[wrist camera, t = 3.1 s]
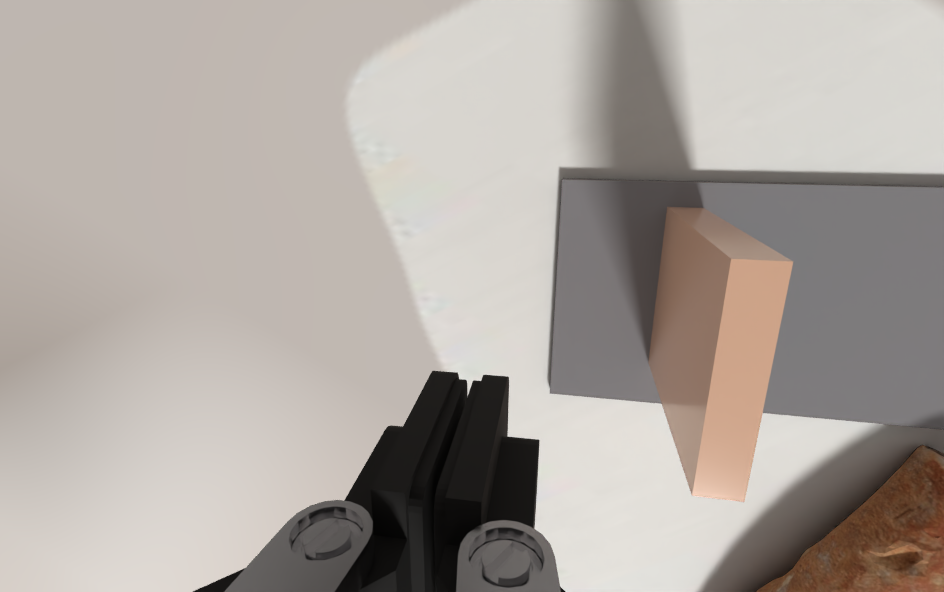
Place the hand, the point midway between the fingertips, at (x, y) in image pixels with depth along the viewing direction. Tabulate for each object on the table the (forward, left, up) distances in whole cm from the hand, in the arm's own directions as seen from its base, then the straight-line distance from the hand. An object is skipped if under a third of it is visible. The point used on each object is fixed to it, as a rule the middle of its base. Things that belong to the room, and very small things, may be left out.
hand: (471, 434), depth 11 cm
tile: (-6, 0, -13) cm, 14 cm away
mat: (-10, +1, -13) cm, 16 cm away
